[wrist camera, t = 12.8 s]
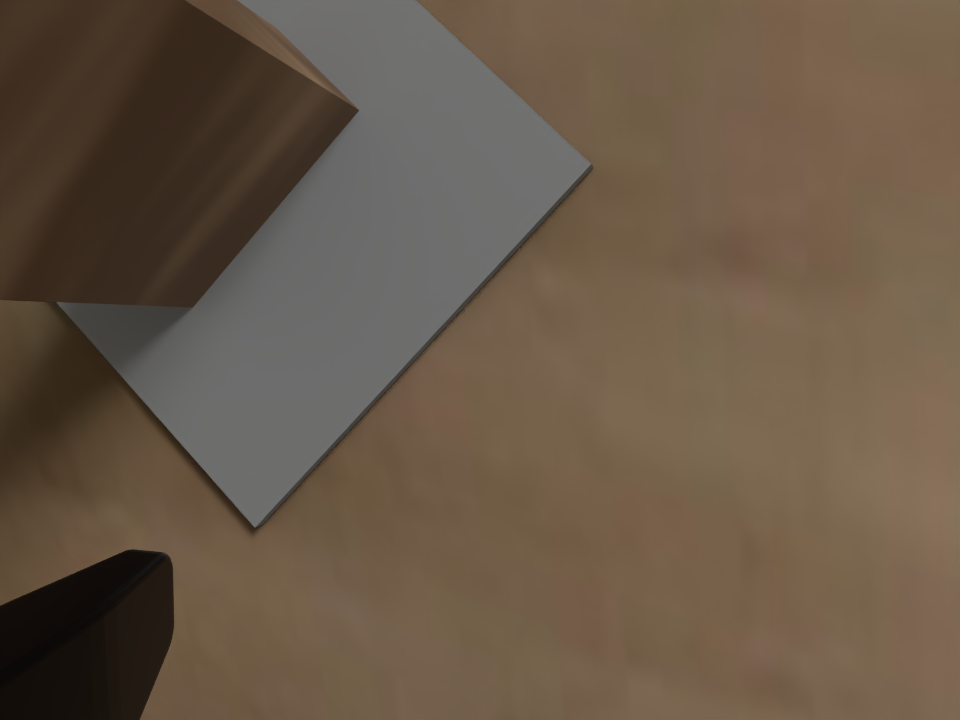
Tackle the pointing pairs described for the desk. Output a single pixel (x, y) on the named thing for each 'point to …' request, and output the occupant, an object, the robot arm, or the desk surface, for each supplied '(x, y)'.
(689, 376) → the desk surface
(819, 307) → the desk surface
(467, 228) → the grey square plate
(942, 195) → the desk surface
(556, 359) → the desk surface
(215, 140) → the walnut panel
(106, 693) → the robot arm
